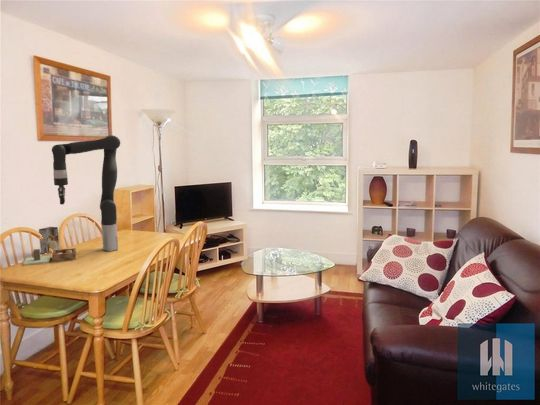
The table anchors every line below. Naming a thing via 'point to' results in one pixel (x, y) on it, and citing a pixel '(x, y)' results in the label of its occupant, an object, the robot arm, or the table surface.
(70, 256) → the box
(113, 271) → the table surface
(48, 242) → the coffee box
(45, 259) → the lid
